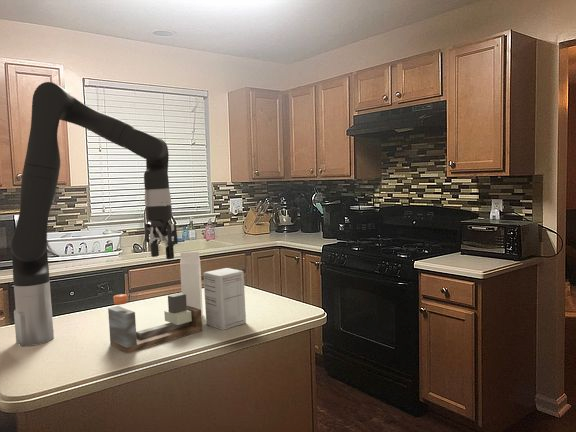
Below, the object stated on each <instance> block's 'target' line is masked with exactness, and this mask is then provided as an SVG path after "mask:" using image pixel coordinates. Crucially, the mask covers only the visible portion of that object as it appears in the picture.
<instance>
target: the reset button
mask: <svg viewBox="0 0 576 432" xmlns="http://www.w3.org/2000/svg"><path fill="white" fill-rule="evenodd" d="M127 303H128V294H126V293H125V294H123V293H120V294H116V295H115V294H114V296H113V305H116V306H120V305H125V304H127Z"/></svg>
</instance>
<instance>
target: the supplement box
mask: <svg viewBox="0 0 576 432" xmlns="http://www.w3.org/2000/svg"><path fill="white" fill-rule="evenodd" d="M244 274H245V273H244V270H239V269H236V268H235V269H234V268H230V267H224V268H219V269H214V270H209V271H205V272H203V289H204V306H205V308H204V309H205V322H206V325H208V326H210V327H212V328H216V329H219V330H221V331H224V330H228V329H230V328H234V327H237V326H241V325H243V324H246V323H247V318H246V317H247V316H246V315H247V314H246V297H245V294H246V293H245V278H244V277H245V275H244Z"/></svg>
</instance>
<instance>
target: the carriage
mask: <svg viewBox="0 0 576 432" xmlns="http://www.w3.org/2000/svg"><path fill="white" fill-rule="evenodd" d="M167 305H168V306H167V307H168V309H167V310H164V314H163V315H164V321H165V322H168V323H173V324H175V325H180V324H183V323H187V322H191V321H192V316H191V311H189V310H187V305H186V294H183V293H182V292H179V293H173V294H169V295H167Z"/></svg>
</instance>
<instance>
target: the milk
mask: <svg viewBox="0 0 576 432" xmlns="http://www.w3.org/2000/svg"><path fill="white" fill-rule="evenodd" d="M179 267H180V268H179V269H180V271H179V272H180V286H181V287H180V289H181V290H180V292H181V293H183V294H186V305H187V306H190V307H194V308H197V309H200V310H201V318H202V319H203V316H204V310H203V309H204V308H203V306H204V305H203V289H202V270H201V268H202V267H201V258H200V252H199V251H192V252H191V251H188V252H187V251H186V252H181V253H180V262H179Z"/></svg>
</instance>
